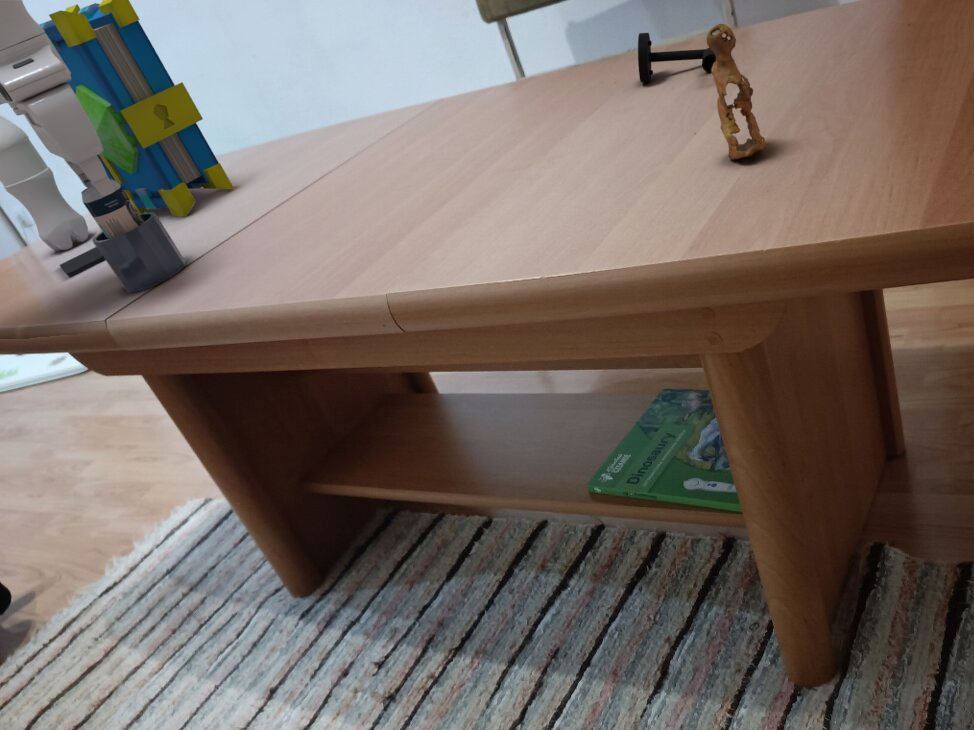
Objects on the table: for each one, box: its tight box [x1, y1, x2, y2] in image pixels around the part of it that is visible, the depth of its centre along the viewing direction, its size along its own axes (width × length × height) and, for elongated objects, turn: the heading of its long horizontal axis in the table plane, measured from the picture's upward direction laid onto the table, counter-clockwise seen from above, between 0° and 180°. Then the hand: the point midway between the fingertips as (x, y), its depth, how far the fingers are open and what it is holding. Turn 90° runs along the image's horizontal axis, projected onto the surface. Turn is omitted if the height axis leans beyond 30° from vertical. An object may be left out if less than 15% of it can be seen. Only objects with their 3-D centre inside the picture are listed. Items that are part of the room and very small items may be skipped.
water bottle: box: [0, 114, 89, 252], centre depth 135 cm, size 7×7×25 cm
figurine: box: [706, 23, 768, 161], centre depth 80 cm, size 5×6×12 cm
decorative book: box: [37, 0, 235, 218], centre depth 134 cm, size 14×23×30 cm, turn 53°
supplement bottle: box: [80, 179, 144, 239], centre depth 108 cm, size 5×5×12 cm
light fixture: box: [637, 32, 716, 83], centre depth 110 cm, size 6×11×13 cm
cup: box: [91, 211, 187, 293], centre depth 110 cm, size 8×8×7 cm
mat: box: [59, 246, 105, 278], centre depth 129 cm, size 8×8×1 cm
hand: (101, 189), depth 105 cm, fingers open, 8 cm apart
